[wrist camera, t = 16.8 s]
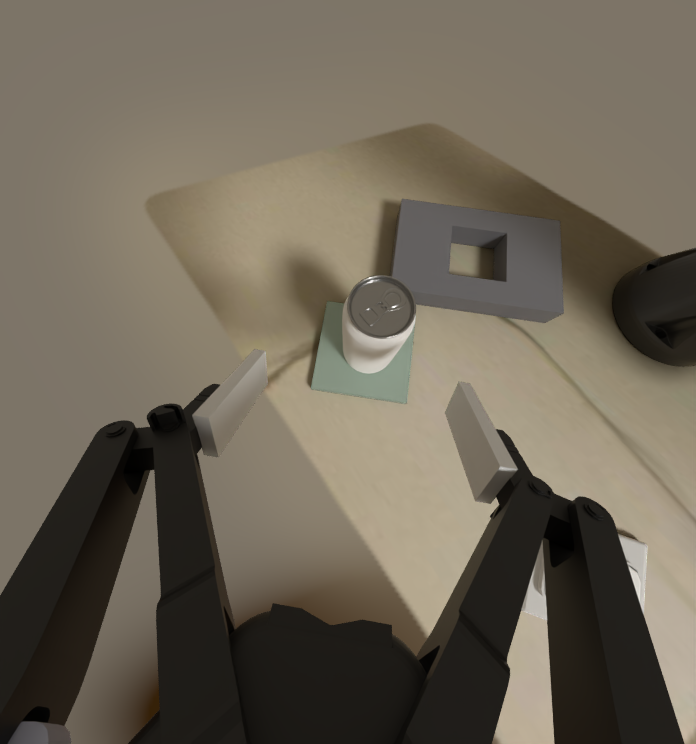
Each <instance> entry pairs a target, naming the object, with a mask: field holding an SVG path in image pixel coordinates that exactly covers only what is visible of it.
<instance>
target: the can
mask: <svg viewBox="0 0 696 744" xmlns="http://www.w3.org/2000/svg"><path fill="white" fill-rule="evenodd" d="M415 314H416V302H415V299H414V296H413V294H412V292H411V291H410V289H409V288H408V287H407V286H406V285H405V284H404V283H403V282H401V281H400V280H398V279H396V278H394V277H391V276H386V275H375V276H370V277H367V278H365V279H363V280H361V281H360V282H359V283H357V284H356V285H355V286H354V288H353V289H352V291H351V292H350V295H349V296H348V297H347V299H346V301H345V304H344V307H343V313H342V335H343V353H344V357H345V359H346V361H347V363H348V364H349V365H350V366H351V367H352V368H353V369H355V370H356V371H359V372H361V373H367V374H371V373H376V372H379V371H381V370H383V369H384V368H385V367H387V365H388V364H389V363H390V362H391V361H392V359H393V358H394V356H395V355H396V354H397V352H398V351H399V350H400V348H401V347H402V345H403V344H404V343H405V341H406V340H407V338H408V337H409V335H410V334H411V332H412V330H413V327H414V324H415V317H416V316H415Z"/></svg>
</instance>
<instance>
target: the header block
mask: <svg viewBox="0 0 696 744" xmlns="http://www.w3.org/2000/svg"><path fill="white" fill-rule="evenodd" d="M451 243H457V244H464V245H471V246H478V247H485V248H493V249H494V271H493V280H488V279H481V278H474V277H467V276H460V275H453V274H449V264H450V250H451ZM390 276H391V277H394V278H396V279H398V280H400V281H401V282H403V283H404V284H405V285H406V286H407V287H408V288H409V289H410V291H411V292H412V294H413V296H414V299H415V302H416V304H418V305H425V306H432V307H439V308H445V309H452V310H459V311H466V312H473V313H480V314H486V315H493V316H500V317H507V318H514V319H521V320H527V321H534V322H541V323H546V322H548V321H550V320H552V319H554V318H556V317H558V316H559V315H561V314H563V313H564V307H563V282H562V257H561V232H560V221H559V220H552V219H544V218H537V217H530V216H523V215H515V214H508V213H501V212H494V211H487V210H479V209H472V208H465V207H458V206H451V205H443V204H436V203H429V202H422V201H415V200H407V199H402V201H401V205H400V209H399V213H398V217H397V224H396V232H395V240H394V247H393V255H392V263H391V270H390Z"/></svg>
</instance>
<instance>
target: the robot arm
mask: <svg viewBox="0 0 696 744" xmlns="http://www.w3.org/2000/svg"><path fill="white" fill-rule="evenodd" d="M613 309H614V314H615V317H616V320H617V323H618V325H619V327H620V329H621V330H622V332H623V333H624V335H625V336H626V337H627V339H628V340H629V341H630V342H631V343H632V344H633V345H634V346H635V347H636V348H637V349H639V350H640V351H641V352H643V353H644V354H646V355H647V356H649V357H651V358H652V359H654V360H657V361H659V362H662V363H665V364H668V365H673V366H682V367H685V366H694V365H696V248H692V249H689V250H685V251H682V252H678V253H675V254H671V255H667V256H664V257H660V258H657V259H654V260H652V261H649V262H647V263H645V264H643V265H641V266H640V267H638V268H636V269H634V270H632V271H630V272H629V273H627V274H626V275H625V276H624V277H622V279H621V280H620V281H619V283H618V284H617V286H616V288H615V291H614V295H613ZM267 384H268V379H267V364H266V351H264V350H258V349H254V350H253V351H252V352H251V353H250V354H249V355H248V356H247V358H246V359H245V360H244V361H243V362H242V363H241V364H240V365H239V366H238V367H237V368H236V369H235V370H234V371H233V372H232V374H230V376H229V377H228V378H227V379H226V380H225V381H224V382H223V383H222V384H221V385H218V384H212V385H210V386H208V387H207V388H205V389H204V390H203V391H202V392H201V393H200V394H199V395H198V396H197V397H196V398H195V399H194V400H193V401H191V402H190V403H189V405H187V406H186V407H185V408H184V409H182V408H181V406H180V405H177V404H164V405H161V406H158V407H156V408H155V409H153V410H151V411H150V412H149V413H148V415H147V420H148V422H149V425H150V427H145V428H136V427H135V425H134V424H133V423H132V422H130V421H117V422H113V423H111V424H108V425H106V426H104V427H103V428H101V429H100V430H99V431H98V432H97V434H96V435H95V437H94V438H93V440H92V442H91V443H90V445H89V447H88V448H87V450H86V452H85V453H84V455H83V457H82V458H81V460H80V462H79V463H78V465H77V467H76V469H75V470H74V472H73V474H72V475H71V477H70V479H69V480H68V482H67V484H66V486H65V487H64V489H63V490H62V492H61V494H60V496H59V498H58V499H57V501H56V502H55V504H54V506H53V507H52V509H51V511H50V512H49V514H48V516H47V517H46V519H45V521H44V523H43V524H42V526H41V528H40V530H39V531H38V533H37V534H36V536H35V538H34V540H33V541H32V543H31V545H30V546H29V548H28V550H27V551H26V553H25V555H24V556H23V558H22V560H21V561H20V563H19V565H18V567H17V568H16V570H15V572H14V573H13V575H12V577H11V578H10V580H9V582H8V583H7V585H6V587H5V589H4V590H3V592H2V594H1V595H0V744H71V738H70V732H69V731H68V729H67V728H66V727H65V726H64V725H65V723H66V721H67V718H68V716H69V714H70V712H71V709H72V707H73V705H74V703H75V700H76V698H77V696H78V694H79V691H80V688H81V686H82V683H83V680H84V677H85V675H86V672H87V669H88V666H89V663H90V660H91V657H92V653H93V651H94V647H95V644H96V641H97V638H98V635H99V631H100V628H101V625H102V622H103V619H104V615H105V612H106V609H107V606H108V603H109V599H110V596H111V593H112V590H113V587H114V584H115V581H116V577H117V574H118V571H119V568H120V565H121V561H122V558H123V555H124V552H125V549H126V545H127V542H128V539H129V536H130V533H131V530H132V527H133V523H134V520H135V517H136V514H137V511H138V508H139V504H140V501H141V498H142V495H143V492H144V488H145V485H146V482H147V479H148V476H149V473H150V470H154V471H155V489H156V508H157V526H158V546H159V565H160V582H161V598H160V600H159V602H158V604H157V610H156V625H157V651H158V674H159V675H158V676H159V700H160V710H159V711H158V712H157V713H156V714H155V715H154V716H153V717H152V718H151V719H150V720H149V722H148V723H147V724H146V725H145V726H144V727H143V728H142V729H141V730H140V731H139V732H138V733H137V734H136V736H134V738H133V739H132V740H131V741H130V742H129V743H128V744H492V741H493V737H494V733H495V730H496V726H497V723H498V719H499V716H500V712H501V708H502V705H503V701H504V698H505V694H506V691H507V687H508V683H509V678H510V668H509V666H508V664H507V656H508V652H509V649H510V645H511V642H512V639H513V635H514V632H515V629H516V626H517V622H518V619H519V616H520V612H521V609H522V606H523V602H524V599H525V596H526V593H527V589H528V586H529V583H530V579H531V576H532V573H533V569H534V566H535V563H536V560H537V556H538V553H539V550H540V546H541V543H542V540H543V557H544V574H545V591H546V607H547V624H548V641H549V658H550V675H551V691H552V708H553V725H554V742H555V744H684V741H683V738H682V735H681V732H680V728H679V725H678V722H677V719H676V716H675V713H674V710H673V706H672V703H671V700H670V697H669V694H668V691H667V687H666V684H665V681H664V678H663V675H662V672H661V668H660V665H659V662H658V659H657V656H656V653H655V649H654V646H653V643H652V640H651V637H650V634H649V631H648V627H647V624H646V621H645V618H644V615H643V612H642V608H641V605H640V602H639V599H638V596H637V593H636V589H635V586H634V583H633V580H632V577H631V574H630V571H629V567H628V564H627V561H626V558H625V555H624V552H623V548H622V545H621V542H620V539H619V536H618V533H617V529H616V526H615V523H614V520H613V519H612V517H611V515H610V514H609V513H608V512H607V511H606V509H605V508H603V507H602V506H601V505H600V504H598V503H597V502H595V501H593V500H591V499H589V498H586V497H577V498H576V499H575V500H573V501H570V500H568V499H566V498H563V497H561V496H558V495H556V494H554V493H553V491H552V489H551V488H550V487H549V486H548V485H547V484H546V483H545V482H543V481H542V480H541V479H539V478H537V477H535V476H533V475H532V473H531V472H530V470H529V468H528V467H527V465H526V463H525V461H524V460H523V458H522V456H521V455H520V454H519V451H518V450H517V448H516V447H515V445H514V443H513V441H512V440H511V438H510V437H509V436H508V435H507V434H506V433H505V432H504V431H503V430H498V429H495V427H494V425H493V424H492V422H491V420H490V418H489V416H488V415H487V413H486V411H485V409H484V407H483V406H482V404H481V402H480V400H479V398H478V397H477V395H476V393H475V391H474V389H473V388H472V386H471V384H470V383H465V382H458V384H457V386H456V389H455V391H454V393H453V395H452V398H451V400H450V402H449V404H448V407H447V409H446V411H445V414H446V417H447V420H448V423H449V426H450V429H451V432H452V435H453V438H454V440H455V443H456V446H457V449H458V452H459V455H460V458H461V461H462V464H463V467H464V470H465V473H466V476H467V478H468V481H469V484H470V487H471V490H472V493H473V496H474V499H475V501H477V502H483V503H489V504H491V503H492V501H493V500H494V499H495V498H496V497H497V500H498V502H499V506H498V507H497V508H496V509H495V511H494V512H493V513H492V514H491V515H490V517H491V520H490V522H489V524H488V525H487V527H486V529H485V531H484V533H483V535H482V537H481V539H480V541H479V543H478V545H477V547H476V548H475V550H474V552H473V554H472V556H471V558H470V560H469V562H468V564H467V566H466V568H465V570H464V571H463V573H462V575H461V577H460V579H459V581H458V583H457V585H456V587H455V589H454V591H453V593H452V594H451V596H450V598H449V600H448V602H447V604H446V606H445V608H444V610H443V612H442V614H441V616H440V617H439V619H438V621H437V623H436V625H435V627H434V629H433V631H432V633H431V634H430V636H429V637H428V639H427V640H426V642H425V643H424V645H423V646H422V648H421V649H420V651H419V653H418V655H417V657H416V656H415V655H414V653H413V652H412V651H411V650H410V648H408V647H407V645H406V644H405V643H404V642H402V641H401V640H400V639H399V638H397V637H396V636H394V635H393V634H392V625H388V624H382V623H377V622H372V621H366V620H358V621H354V622H348V623H342V624H337V625H329V624H327V623H325V622H323V621H322V620H320V619H318V618H317V617H315V616H313V615H311V614H310V613H308V612H307V611H305V610H303V609H301V608H295V607H290V606H284V605H279V604H273V605H272V608H271V611H269V612H264V613H261V614H258V615H256V616H254V617H252V618H250V619H249V620H247V621H246V622H244V623H243V624H241V625H240V626H239V627H238V628H237V629H236V628H235V623H234V619H233V614H232V610H231V607H230V603H229V599H228V595H227V591H226V586H225V582H224V577H223V572H222V567H221V563H220V558H219V553H218V549H217V544H216V539H215V535H214V530H213V525H212V521H211V516H210V511H209V507H208V502H207V497H206V493H205V488H204V483H203V479H202V474H201V469H200V465H199V460H198V456H197V453H198V452H199V450H200V449H201V448H202V450H203V453H204V455H207V456H213V457H219V456H220V455H221V453H222V452H223V450H224V449H225V447H226V445H227V444H228V443H229V441H230V439H231V438H232V437H233V435H234V433H235V432H236V430H237V429H238V427H239V426H240V425H241V423H242V422H243V420H244V419H245V417H246V416H247V414H248V413H249V411H250V410H251V408H252V406H253V405H254V404H255V402H256V401H257V399H258V397H259V396H260V395H261V393H262V392H263V390H264V389H265V387H266V386H267Z"/></svg>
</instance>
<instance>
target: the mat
mask: <svg viewBox="0 0 696 744" xmlns="http://www.w3.org/2000/svg"><path fill="white" fill-rule="evenodd" d="M343 307H344V303H338V302H331V301H327V305H326V310H325V315H324V321H323V326H322V331H321V337H320V342H319V347H318V353H317V358H316V364H315V369H314V374H313V380H312V385H311V389H312V390H318V391H324V392H331V393H337V394H344V395H350V396H357V397H363V398H370V399H376V400H383V401H389V402H396V403H402V404H406V403H407V397H408V387H409V378H410V368H411V358H412V348H413V338H414V328H415V324H414V327H413V330H412V332H411V334H410V335H409V337H408V338H407V340H406V341H405V343H404V344H403V345H402V347H401V348H400V350H399V351H398V352H397V354H396V355H395V356H394V358H393V359H392V361H391V362H390V363H389V364H388V365H387V367H385V368H384V369H383V370H381V371H379V372H376V373H371V374H367V373H361V372H359V371H356V370H355V369H353V368H352V367H351V366H350V365H349V364H348V363H347V361H346V359H345V357H344V353H343V335H342V313H343ZM415 316H416V314H415ZM415 318H416V317H415Z"/></svg>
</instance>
